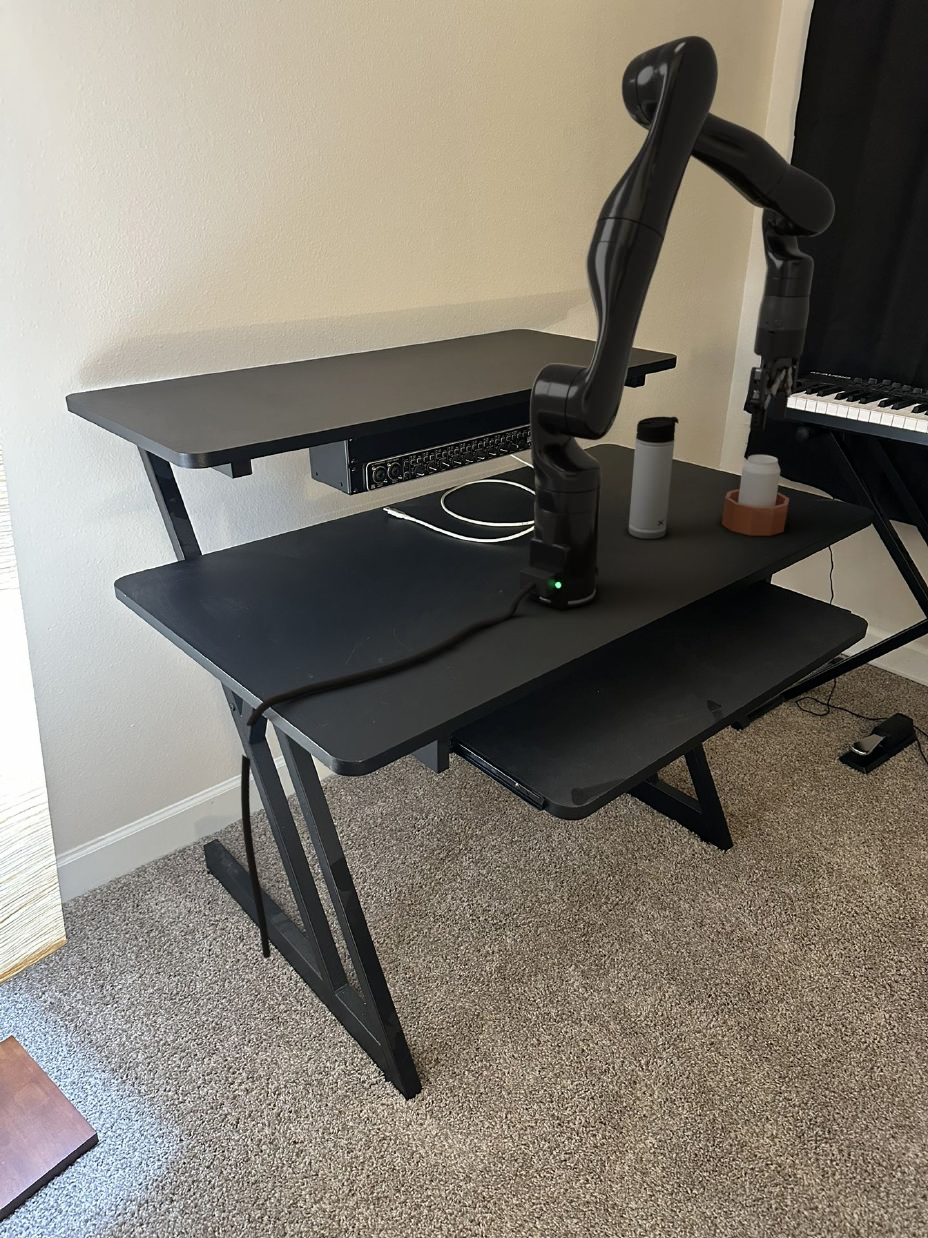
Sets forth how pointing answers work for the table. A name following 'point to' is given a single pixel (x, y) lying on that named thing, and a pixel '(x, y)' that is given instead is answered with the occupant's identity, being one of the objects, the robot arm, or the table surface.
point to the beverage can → (759, 481)
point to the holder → (754, 516)
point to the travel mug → (652, 477)
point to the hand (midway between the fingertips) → (767, 424)
